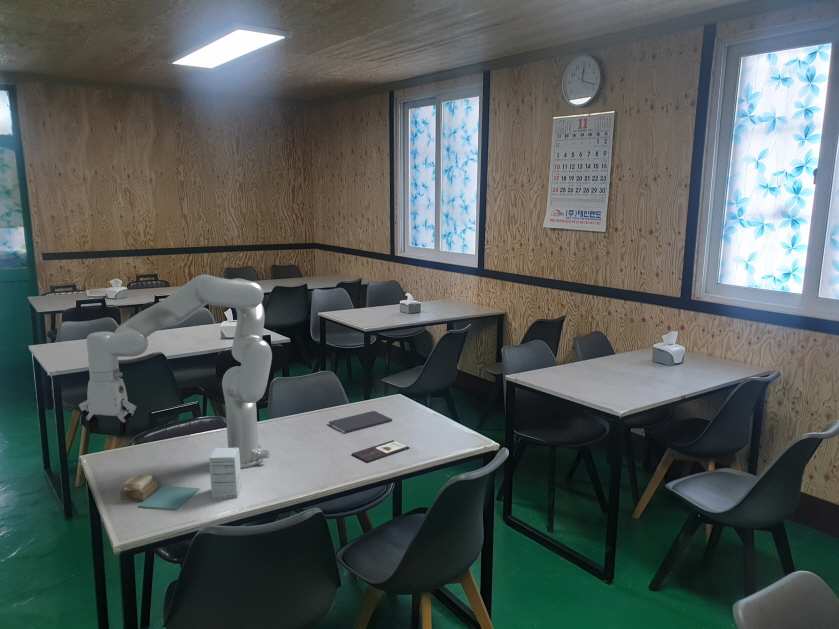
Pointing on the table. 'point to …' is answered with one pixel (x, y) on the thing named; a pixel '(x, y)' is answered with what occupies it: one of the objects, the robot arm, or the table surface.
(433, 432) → the table surface
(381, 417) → the notebook
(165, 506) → the rubber mat
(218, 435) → the table surface
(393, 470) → the table surface
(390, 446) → the chocolate bar
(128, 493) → the walnut block
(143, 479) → the birch block
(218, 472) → the supplement box
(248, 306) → the robot arm
